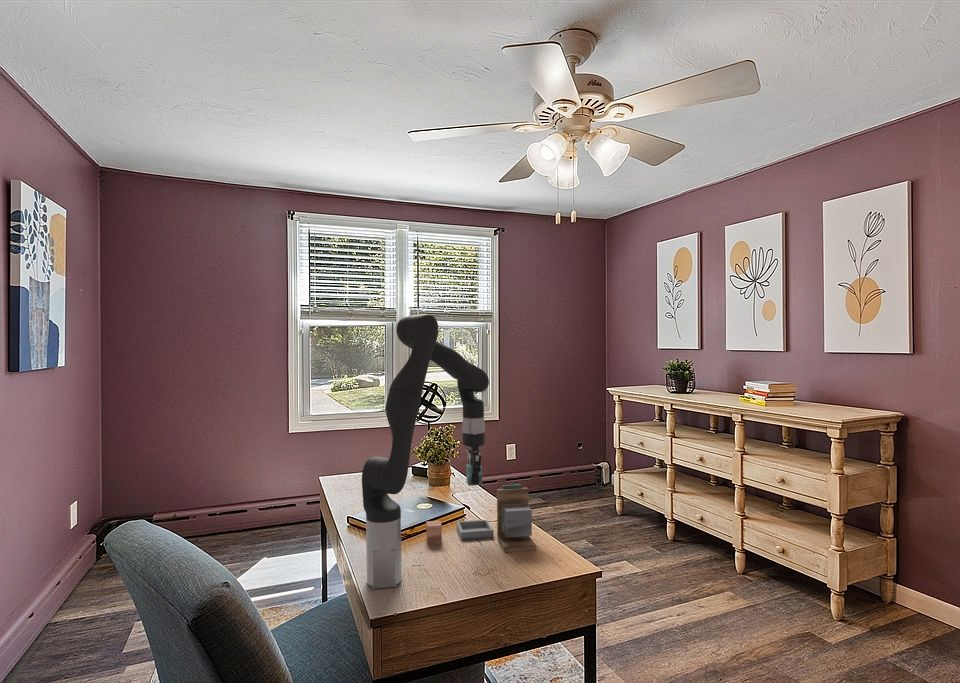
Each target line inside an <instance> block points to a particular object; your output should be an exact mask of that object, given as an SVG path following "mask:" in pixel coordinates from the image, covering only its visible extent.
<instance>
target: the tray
mask: <svg viewBox="0 0 960 683" xmlns="http://www.w3.org/2000/svg"><path fill="white" fill-rule="evenodd" d="M456 530H457V533H458V535H459V539H460V540H461V541H466V540H467V541H469V540H470V541H471V540H481V539H483V540H484V539H493V538H494V529H493V527H492V525H491V523H490V522H489V520H488V519H478V520H460V521H456Z"/></svg>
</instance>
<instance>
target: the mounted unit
mask: <svg viewBox="0 0 960 683" xmlns="http://www.w3.org/2000/svg"><path fill="white" fill-rule="evenodd" d="M529 503H530V502H529V488H528V487H522V484H521V483H520V484H505V485H504V484H503V485H502V488H496V527H497V529H496V532H497V533H496V535H497V536H496V537H497V538H496V540H497V542H498V544H499V546H500V548H501V549H502V551H503V553H512V552H513V553H514V552H524V551H526V552H527V551H535V550H537V544H536V543H535V541H534V540H533V539H532V536H533V535H532V531H533V529H532V528H533V526H532V525H533V524H532V523H533V522H532V521H533V520H532V519H533V516H532V513H533V511H532V509H531V508H530V506H529Z"/></svg>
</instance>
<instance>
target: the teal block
mask: <svg viewBox="0 0 960 683" xmlns="http://www.w3.org/2000/svg"><path fill="white" fill-rule="evenodd" d="M465 467H466V469H465V470H466V477H465V478H466V484H467V486H470V487H471V486H472V487H473V486H482V485H483V466H482V465H481V471H480V472H479V484H472V472H471V466H470V464H466V466H465ZM476 468H477V466H475V469H476Z"/></svg>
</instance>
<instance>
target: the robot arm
mask: <svg viewBox="0 0 960 683" xmlns="http://www.w3.org/2000/svg"><path fill="white" fill-rule="evenodd" d="M438 323H439V322H438V320H437V319H436V317H435V316H434V315H433V314H429V313H428V314H427V313H426V314H425V313H423V314H413V315H412V314H411V315H407V316H404V317H402V318H401V319H400V320H398V322H397V325H396V335H397V337H398V340H399V341H400V343H402V344H403V345H404V346H406V347H407V348H409V349H411V353H410V355H409V357H408V359H407V361H406V362H405V364H404V366H403V367H402V368H400V369H399V372H398V373H397V374H396V376H395V377H394V378H393V380H392V382H391V384H390V386H389V390H388V395H387V398H386V403H385V408H384V410H385V415H386V418H387V423H388V426H389V428H390V432H391V437H392V438H391V439H392V441H391V450H390V455H389V457H383V456H371V457H370V458H368V459H367V460H366V461H365V463H364V465H363V469H362V473H361V489H362V504H363V509H364V512H365V515H366V516H365V525H366V526H365V529H366V530H365V537H366V538H365V540H366V544H365V546H366V547H365V548H366V583H367V585H368V586H370V587H371V588H372V589H373V590H374V589H375V590H376V589H386V588H387V589H388V588H396V587H397V586H398V584H400V583H401V582H402V577H403V576H402V535H401V520H402V510H401V506H400V504H398V502H396V501H395V500H393V499H392V498H391V497H390V496H389V495H397V494H399V493H400V492H401V491H402V490H403V488H404V487H405V485H406V482H407V477H408V472H409V467H410V458H411V450H412V444H413V443H412V442H413V436H414V432H415V431H414V430H415V427H416V422H417V417H418V413H419V409H420V405H421V400H422V396H423V390H424V385H425V382H426V378H427V373H428V369H429V365H430V362H433V363H435V365H437V366H438V367H440V368H441V369H442V370H443V371H445V372H446V374H448V375H449V376H450V377H451V378H452V379H454V380H456V382H457V383H456V384H457V389H458V394H459V397H460V400H461V404H462V423H461V427H462V428H461V438H462V441H461V442H462V445H463V446H464V447H467V448H466V455H467V457H466V459H467V464H470V466H471V472H472V484H479V472H480V471H481V466H482V463H481V462H482V455H481V451H480V450H479V447H483V446H485V444H486V424H485V423H486V422H485V404H484V403H485V402H484V401H483V399H480V398H478V397H476V396H475V393H482V392H485V391H486V390H487V389H488V387H489V385H490V380H489V375H488V374H487V373H486V371H484V370H483V369H482V368H480V367H478V366H477V365H475V364H473V363H471V362H469V361H467V360H466V358H464V357H463V356H462V355H461V354H460V353H459V352H457V351H456V350H454V349H453V348H451V347H449V346H446V345H445V344H442V343H440V342H438V341H437V340H438V336H439V324H438ZM475 466H477V468H476V469H475Z"/></svg>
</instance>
